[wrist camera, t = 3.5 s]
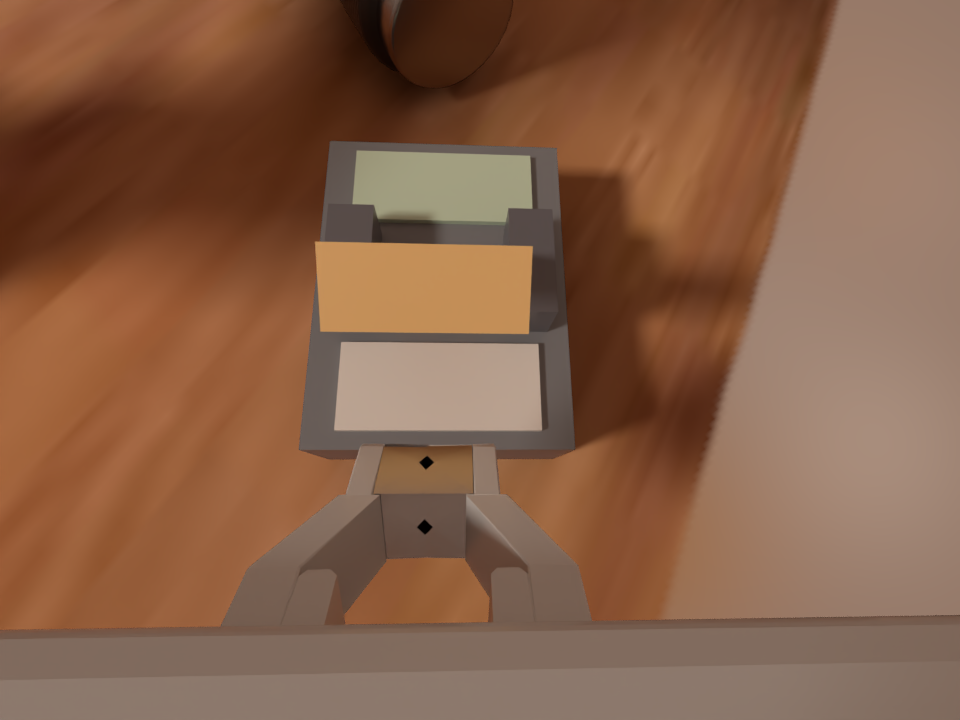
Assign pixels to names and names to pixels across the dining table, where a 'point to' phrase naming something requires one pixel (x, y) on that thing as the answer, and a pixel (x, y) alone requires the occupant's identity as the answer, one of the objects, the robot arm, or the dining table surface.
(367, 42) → the muzzle brake
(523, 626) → the robot arm
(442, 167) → the panel
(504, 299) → the lever
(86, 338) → the dining table surface
